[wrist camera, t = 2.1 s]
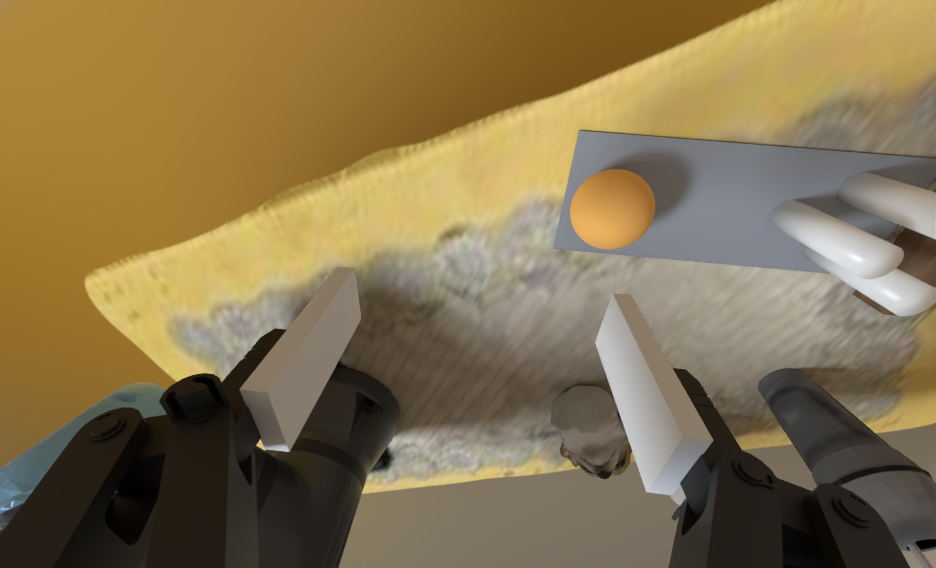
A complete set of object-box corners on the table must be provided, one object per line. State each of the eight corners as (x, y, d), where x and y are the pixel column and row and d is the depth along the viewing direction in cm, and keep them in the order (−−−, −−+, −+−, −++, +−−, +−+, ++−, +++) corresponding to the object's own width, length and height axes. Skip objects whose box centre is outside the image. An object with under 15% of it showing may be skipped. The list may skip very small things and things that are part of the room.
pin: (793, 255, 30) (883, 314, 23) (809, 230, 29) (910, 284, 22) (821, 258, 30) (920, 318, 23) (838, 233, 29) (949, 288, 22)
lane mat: (553, 247, 32) (553, 248, 32) (579, 130, 26) (579, 130, 26) (856, 274, 31) (858, 276, 31) (946, 159, 26) (949, 160, 25)
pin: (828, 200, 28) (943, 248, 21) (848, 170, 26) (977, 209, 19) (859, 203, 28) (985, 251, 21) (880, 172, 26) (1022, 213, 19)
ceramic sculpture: (643, 433, 31) (672, 502, 39) (615, 360, 38) (645, 430, 46) (533, 456, 35) (579, 515, 42) (526, 385, 42) (567, 446, 49)
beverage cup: (825, 391, 39) (1076, 643, 22) (752, 411, 41) (927, 651, 24) (814, 349, 36) (1094, 604, 19) (736, 374, 38) (922, 618, 22)
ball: (557, 227, 31) (569, 259, 26) (573, 157, 28) (589, 178, 22) (626, 233, 31) (651, 267, 26) (649, 163, 27) (683, 186, 22)
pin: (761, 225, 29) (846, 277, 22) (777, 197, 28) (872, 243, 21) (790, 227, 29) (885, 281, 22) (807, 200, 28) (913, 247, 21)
